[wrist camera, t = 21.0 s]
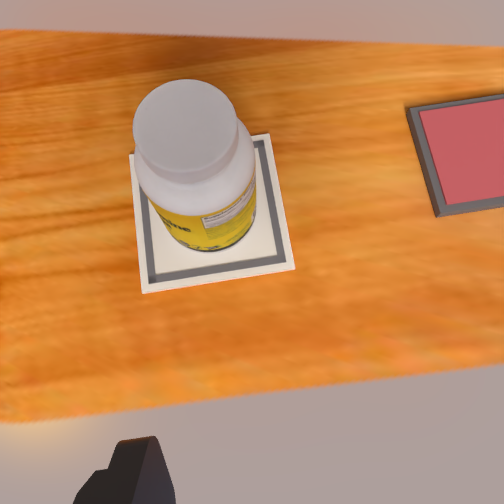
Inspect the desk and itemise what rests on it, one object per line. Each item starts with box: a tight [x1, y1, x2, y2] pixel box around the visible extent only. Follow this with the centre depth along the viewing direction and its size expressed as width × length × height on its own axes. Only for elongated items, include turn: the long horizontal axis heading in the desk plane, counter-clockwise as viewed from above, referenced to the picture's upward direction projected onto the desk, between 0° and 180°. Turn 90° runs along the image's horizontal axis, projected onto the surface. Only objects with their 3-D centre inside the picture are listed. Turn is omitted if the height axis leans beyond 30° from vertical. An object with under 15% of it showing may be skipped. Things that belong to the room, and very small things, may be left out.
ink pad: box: [406, 94, 504, 218], centre depth 31 cm, size 8×8×1 cm
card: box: [129, 133, 295, 294], centre depth 31 cm, size 10×10×1 cm
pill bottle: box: [133, 79, 256, 254], centre depth 25 cm, size 6×6×11 cm
